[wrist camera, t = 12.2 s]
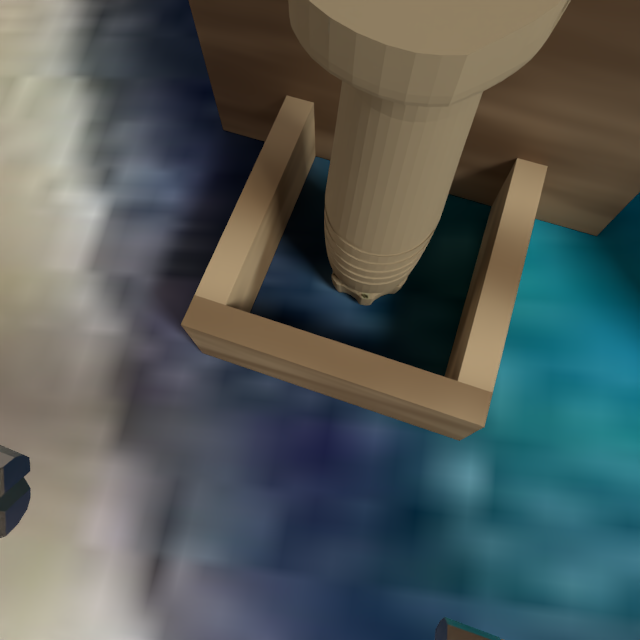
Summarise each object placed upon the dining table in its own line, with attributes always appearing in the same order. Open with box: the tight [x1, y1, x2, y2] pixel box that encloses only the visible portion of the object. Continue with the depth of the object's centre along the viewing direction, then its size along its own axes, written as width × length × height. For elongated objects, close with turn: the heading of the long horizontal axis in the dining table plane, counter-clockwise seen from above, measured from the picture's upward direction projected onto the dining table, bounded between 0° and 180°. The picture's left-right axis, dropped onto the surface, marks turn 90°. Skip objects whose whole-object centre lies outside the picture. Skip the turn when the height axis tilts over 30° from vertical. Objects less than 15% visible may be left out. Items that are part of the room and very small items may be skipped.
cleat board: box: [181, 0, 640, 441], centre depth 14 cm, size 13×18×20 cm
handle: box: [288, 0, 571, 305], centre depth 16 cm, size 5×6×15 cm
